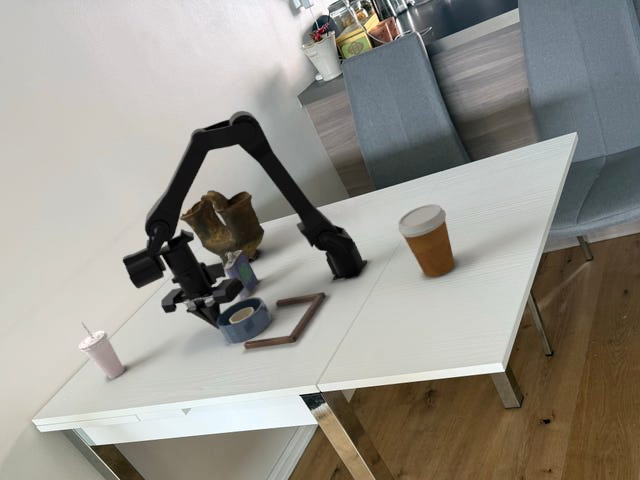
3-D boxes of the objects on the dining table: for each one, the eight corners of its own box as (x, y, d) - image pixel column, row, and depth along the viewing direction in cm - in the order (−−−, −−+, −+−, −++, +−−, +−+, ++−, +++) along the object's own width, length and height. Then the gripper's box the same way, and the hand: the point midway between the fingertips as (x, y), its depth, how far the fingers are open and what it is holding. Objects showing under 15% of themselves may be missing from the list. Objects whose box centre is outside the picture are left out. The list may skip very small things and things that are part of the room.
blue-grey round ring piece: (280, 312, 148) (270, 294, 145) (258, 342, 140) (248, 322, 138) (242, 318, 153) (231, 300, 150) (218, 347, 145) (207, 329, 142)
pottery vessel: (288, 246, 179) (253, 176, 169) (262, 269, 173) (224, 198, 163) (227, 250, 195) (192, 187, 185) (201, 271, 189) (164, 207, 179)
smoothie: (113, 383, 150) (76, 332, 143) (98, 381, 154) (60, 331, 147) (134, 364, 154) (99, 314, 147) (119, 363, 158) (83, 314, 151)
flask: (249, 299, 160) (227, 260, 155) (238, 302, 161) (216, 263, 156) (261, 279, 167) (240, 241, 162) (250, 283, 168) (229, 245, 163)
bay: (326, 297, 145) (323, 291, 144) (295, 344, 133) (292, 338, 132) (280, 305, 151) (277, 300, 150) (246, 351, 139) (243, 345, 138)
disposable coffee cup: (410, 285, 135) (388, 231, 129) (425, 259, 142) (405, 208, 136) (454, 278, 131) (434, 223, 124) (468, 253, 137) (449, 199, 131)
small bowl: (264, 318, 147) (257, 305, 145) (253, 334, 143) (245, 320, 141) (244, 322, 149) (237, 309, 148) (232, 337, 145) (225, 324, 144)
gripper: (238, 239, 142) (271, 301, 151) (172, 254, 151) (206, 312, 159) (212, 267, 134) (248, 331, 142) (143, 281, 143) (181, 340, 151)
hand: (220, 327), depth 149 cm, fingers closed
